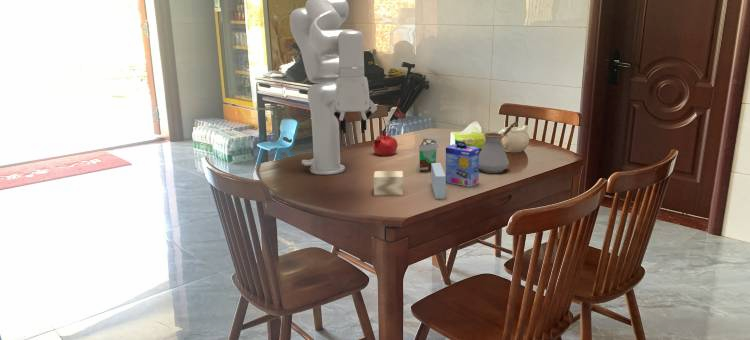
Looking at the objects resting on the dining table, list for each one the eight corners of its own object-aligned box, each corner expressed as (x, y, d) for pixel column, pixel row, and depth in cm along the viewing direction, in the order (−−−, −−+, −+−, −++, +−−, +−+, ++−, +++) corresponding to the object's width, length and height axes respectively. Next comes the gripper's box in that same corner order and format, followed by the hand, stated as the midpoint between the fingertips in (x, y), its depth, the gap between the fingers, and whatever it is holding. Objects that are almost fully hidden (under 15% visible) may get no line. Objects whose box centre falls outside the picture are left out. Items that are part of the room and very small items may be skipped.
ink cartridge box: (444, 182, 191) (444, 139, 187) (453, 179, 195) (453, 136, 191) (470, 187, 185) (471, 143, 181) (479, 183, 189) (480, 140, 185)
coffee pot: (498, 176, 197) (499, 133, 193) (469, 171, 204) (470, 129, 200) (528, 164, 212) (530, 123, 208) (500, 159, 219) (502, 120, 216)
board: (435, 198, 175) (435, 176, 173) (431, 183, 190) (431, 163, 189) (445, 198, 175) (445, 176, 173) (440, 183, 190) (440, 162, 188)
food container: (436, 173, 202) (436, 145, 200) (419, 173, 203) (419, 145, 201) (440, 164, 214) (440, 138, 211) (423, 164, 215) (423, 137, 212)
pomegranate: (398, 151, 236) (398, 129, 234) (396, 157, 227) (396, 134, 224) (374, 151, 237) (374, 128, 235) (371, 156, 228) (371, 133, 226)
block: (374, 195, 180) (373, 177, 178) (375, 189, 187) (374, 171, 185) (403, 195, 179) (402, 177, 178) (403, 189, 186) (403, 171, 184)
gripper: (322, 74, 170) (324, 135, 175) (380, 73, 170) (381, 134, 174) (324, 72, 177) (327, 130, 182) (380, 71, 177) (381, 129, 182)
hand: (353, 132), depth 178 cm, fingers open, 5 cm apart
